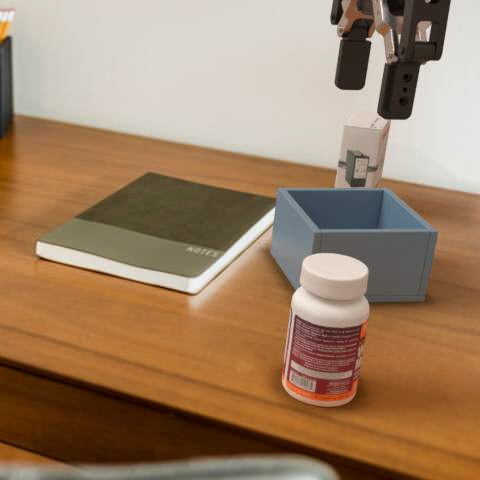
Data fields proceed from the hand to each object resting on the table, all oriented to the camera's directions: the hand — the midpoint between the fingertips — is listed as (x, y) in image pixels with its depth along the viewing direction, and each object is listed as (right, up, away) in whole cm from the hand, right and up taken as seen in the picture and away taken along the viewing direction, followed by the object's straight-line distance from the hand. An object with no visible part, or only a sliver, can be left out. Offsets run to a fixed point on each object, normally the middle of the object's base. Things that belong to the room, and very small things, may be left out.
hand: (369, 102), depth 65 cm
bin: (+6, -14, +30) cm, 34 cm away
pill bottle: (-2, -23, +10) cm, 25 cm away
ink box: (+12, -6, +50) cm, 52 cm away
